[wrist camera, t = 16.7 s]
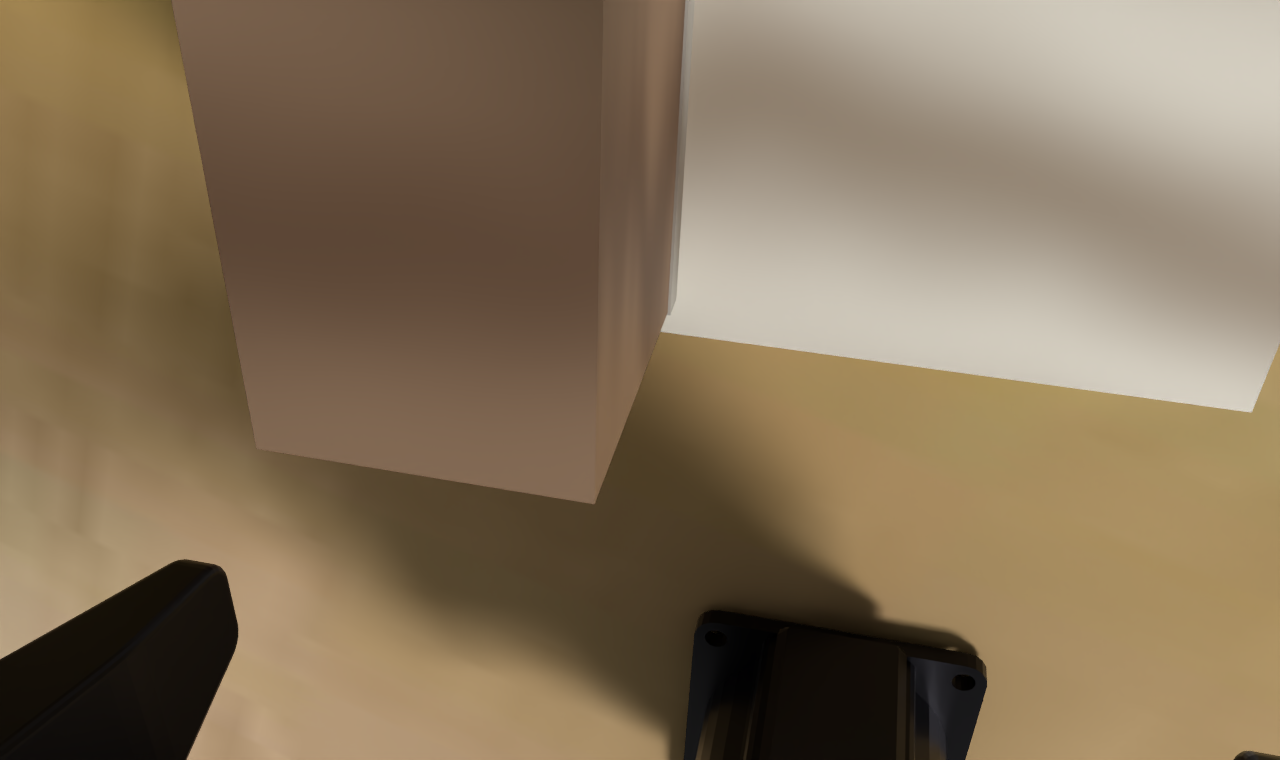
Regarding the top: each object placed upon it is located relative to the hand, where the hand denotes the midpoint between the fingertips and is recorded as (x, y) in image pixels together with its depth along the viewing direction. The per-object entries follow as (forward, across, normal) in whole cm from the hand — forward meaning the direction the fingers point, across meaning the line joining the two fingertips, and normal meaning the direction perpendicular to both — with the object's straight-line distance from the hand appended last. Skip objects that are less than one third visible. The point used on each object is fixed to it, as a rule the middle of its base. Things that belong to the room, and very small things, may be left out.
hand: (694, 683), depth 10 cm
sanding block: (+11, +4, -1) cm, 12 cm away
